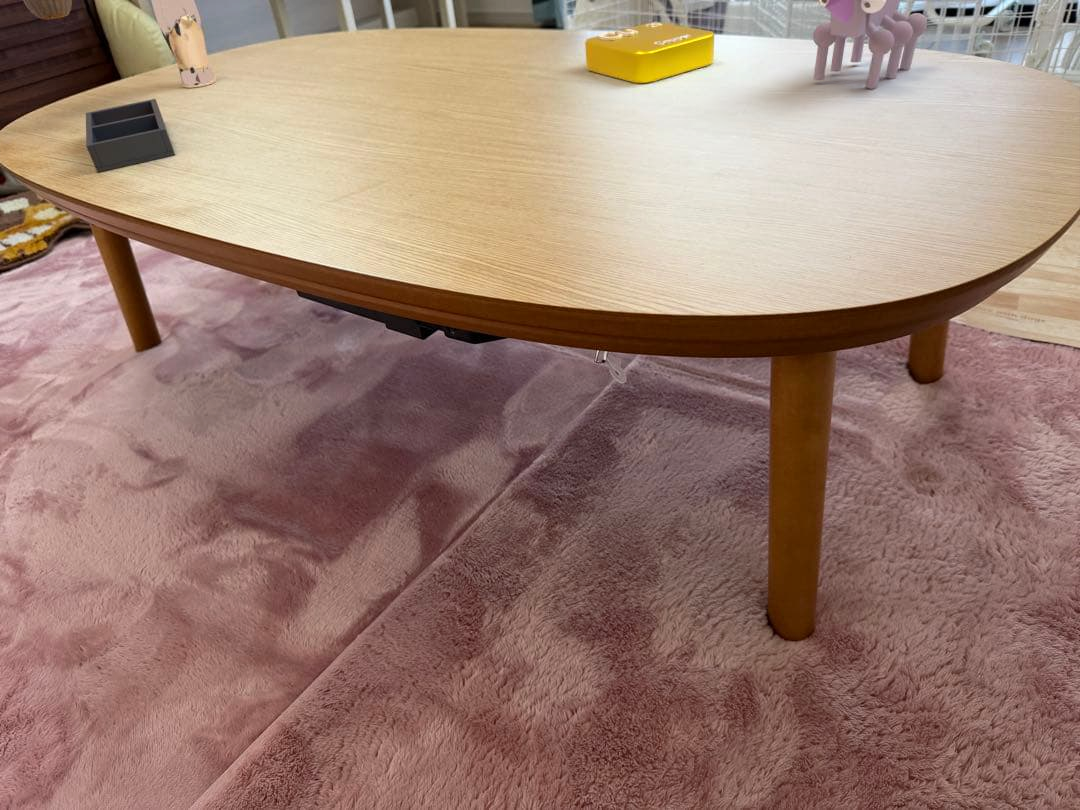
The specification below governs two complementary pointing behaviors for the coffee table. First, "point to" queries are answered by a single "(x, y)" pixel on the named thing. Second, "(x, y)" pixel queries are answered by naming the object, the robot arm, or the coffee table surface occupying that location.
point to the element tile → (649, 52)
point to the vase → (49, 8)
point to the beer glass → (185, 40)
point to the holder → (127, 135)
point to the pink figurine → (857, 12)
